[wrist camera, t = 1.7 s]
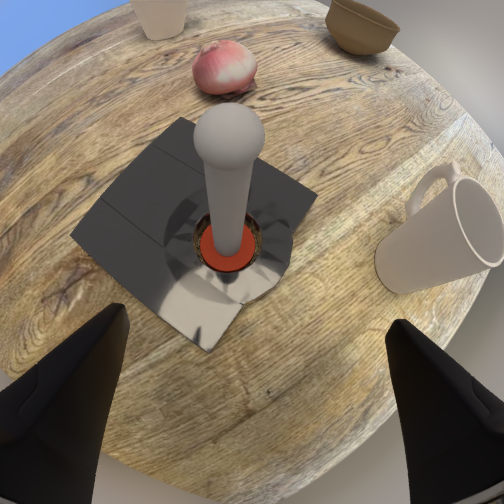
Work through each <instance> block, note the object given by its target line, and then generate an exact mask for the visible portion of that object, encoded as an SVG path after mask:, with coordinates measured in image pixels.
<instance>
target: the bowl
mask: <svg viewBox="0 0 504 504" xmlns="http://www.w3.org/2000/svg"><path fill="white" fill-rule="evenodd" d="M325 22H326V25H327V28H328V30H329V32H330V33H331V35H332V36H333V37H334V39H335V40H336V43H337V45H338V46H339V47H340V48H342V49H343V50H345V51H347V52H349V53H351V54H354V55H359V56H361V55H363V54H377V53H381V52H384V51H386V50H387V49H388V48H389V46H390V44H391V42H392V40H393V39H394V37H395V36H396V34H397V33H398V32H399V31H400V28H399V27H398V26H397V25H396V24H395V23H394V22H393V21H392V20H390V19H389V18H387V17H386V16H384V15H382V14H381V13H379V12H377V11H375V10H374V9H372V8H369V7H367V6H365V5H363V4H360V3H358V2H355V1H352V0H332V4H331V7H330V9H329V11H328V14H327V16H326V19H325Z"/></svg>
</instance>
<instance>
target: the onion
mask: <svg viewBox="0 0 504 504" xmlns="http://www.w3.org/2000/svg"><path fill="white" fill-rule="evenodd" d="M192 71H193V77H194V81H195V83H196V84H197V86H198V87H199V88H200V89H201V90H202V91H204V92H205V93H208V94H211V95H214V96H218V97H221V98H224V99H229V98H232V97H234V96H237V95H239V94H242V93H244V92H247V91H250V90H252V89H255V88H257V86H256V83H255V81H254V79H253V77H254V76H255V74H256V71H257V61H256V59H255V57H254V55H253V54H252V53H251V52H250V51H249V50H248V49H247V48H246V47H244V46H243V45H241V44H239V43H237V42H234V41H230V40H222V41H220V40H219V41H218V40H217V41H211V42H209V43H207V44H205V45H204V46H203V47H202V48H201V50H200V52H199V54H198V55H197V56H196V58H195V60H194V62H193V66H192Z"/></svg>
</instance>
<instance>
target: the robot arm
mask: <svg viewBox="0 0 504 504" xmlns="http://www.w3.org/2000/svg"><path fill="white" fill-rule="evenodd" d="M129 329H130V322H129V318H128V315H127V311H126V307H125V305H124V304H120V303H111V304H110V305H108V306H107V307H106V308H104V309H103V310H102V311H101V312H99V313H98V314H97V315H95V316H94V317H93V318H92V319H90V320H89V321H88V322H87V323H85V324H84V325H83V326H81V327H80V328H79V329H78V330H76V331H75V332H74V333H73V334H71V335H70V336H69V337H68V338H66V339H65V340H64V341H63V342H62V343H60V344H59V345H58V346H57V347H55V348H54V349H53V350H52V351H51V352H49V353H48V354H47V355H46V356H45V357H43V358H42V359H41V360H40V361H39V362H38V363H37V364H35V365H34V366H33V367H32V368H30V369H29V370H28V371H27V372H26V373H24V374H23V375H22V376H21V377H20V378H18V379H17V380H16V381H14V382H13V383H12V384H10V385H9V386H8V387H6V388H5V389H4V390H2V391H1V392H0V504H91V502H92V495H93V489H94V482H95V476H96V474H95V473H96V469H97V465H98V459H99V454H100V450H101V445H102V440H103V436H104V432H105V427H106V423H107V419H108V415H109V411H110V407H111V404H112V400H113V396H114V393H115V389H116V386H117V382H118V379H119V376H120V372H121V368H122V363H123V358H124V353H125V348H126V343H127V338H128V333H129ZM385 344H386V350H387V356H388V362H389V369H390V376H391V381H392V385H393V390H394V394H395V399H396V403H397V408H398V413H399V418H400V423H401V429H402V435H403V441H404V446H405V454H406V461H407V469H408V479H409V490H410V504H504V402H503V401H501V400H500V399H499V398H498V397H497V396H495V395H494V394H493V393H492V392H490V391H489V390H488V389H486V388H485V387H484V386H483V385H482V384H481V383H480V382H479V381H477V380H476V379H475V378H474V377H473V376H471V374H470V373H469V372H467V371H466V370H465V369H464V368H463V367H462V366H461V365H460V364H458V363H457V362H456V361H455V360H454V359H453V358H451V357H450V356H449V355H448V354H447V353H446V352H445V351H443V350H442V349H441V348H440V347H439V346H438V345H436V344H435V343H434V342H433V341H432V340H430V339H429V338H428V337H427V336H426V335H424V334H423V333H422V332H421V331H420V330H418V329H417V328H416V327H415V326H414V325H412V324H411V323H410V322H409V321H407V320H406V319H396V320H395V321H394V322H393V323H392V325H391V327H390V329H389V330H388V332H387V334H386V336H385Z"/></svg>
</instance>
